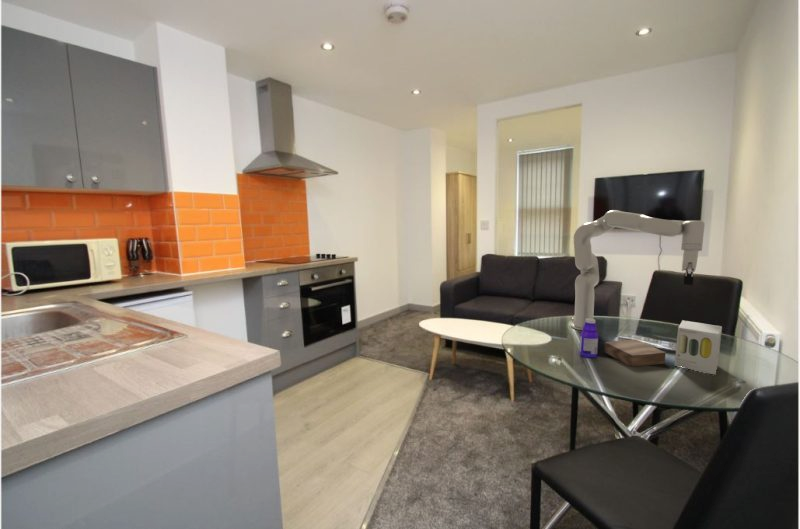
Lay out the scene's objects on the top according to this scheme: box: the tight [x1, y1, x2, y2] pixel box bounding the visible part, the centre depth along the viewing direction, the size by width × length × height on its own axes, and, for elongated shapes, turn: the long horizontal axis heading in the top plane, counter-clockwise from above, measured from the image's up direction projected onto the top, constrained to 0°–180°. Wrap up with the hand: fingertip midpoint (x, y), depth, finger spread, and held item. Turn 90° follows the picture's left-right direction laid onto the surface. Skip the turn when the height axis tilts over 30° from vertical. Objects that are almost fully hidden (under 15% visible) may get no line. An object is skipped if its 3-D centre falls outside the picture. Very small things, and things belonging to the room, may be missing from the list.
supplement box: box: [674, 319, 723, 375], centre depth 147 cm, size 13×13×18 cm
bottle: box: [579, 318, 599, 359], centre depth 160 cm, size 7×6×17 cm
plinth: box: [604, 339, 666, 368], centre depth 158 cm, size 16×16×5 cm
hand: (688, 283), depth 166 cm, fingers open, 9 cm apart
